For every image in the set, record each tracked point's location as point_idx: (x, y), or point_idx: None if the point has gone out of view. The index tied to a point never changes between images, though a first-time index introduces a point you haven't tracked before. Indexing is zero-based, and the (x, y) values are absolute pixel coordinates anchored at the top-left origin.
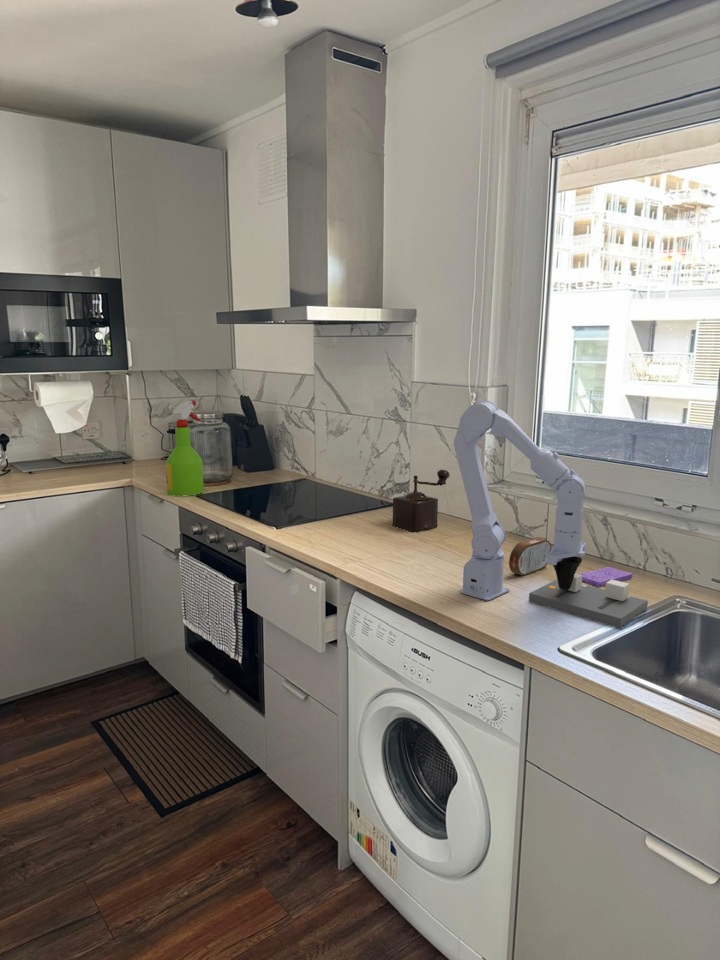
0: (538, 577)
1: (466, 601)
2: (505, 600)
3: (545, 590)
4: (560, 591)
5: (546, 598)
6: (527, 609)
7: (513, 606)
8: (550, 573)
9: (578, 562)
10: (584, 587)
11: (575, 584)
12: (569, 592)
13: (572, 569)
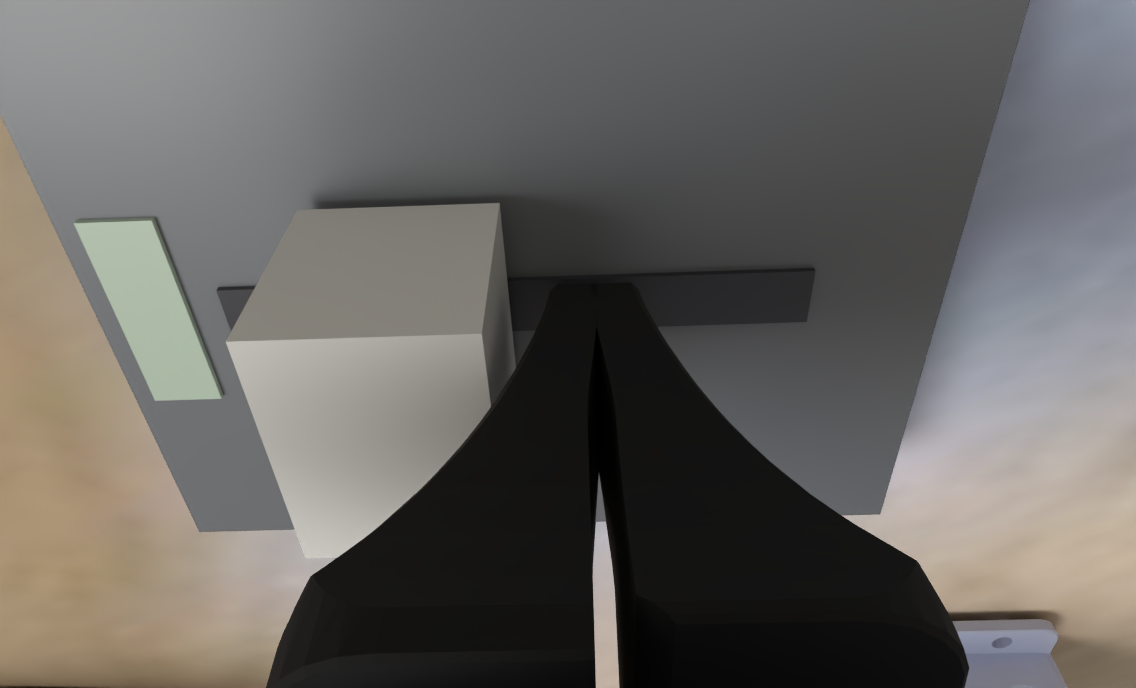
0: (214, 634)
1: (1120, 680)
2: (941, 558)
3: None
4: None
5: (925, 343)
6: (1080, 361)
7: (1059, 467)
8: (31, 624)
9: (573, 597)
10: (168, 220)
11: (491, 272)
12: (530, 260)
13: (721, 498)
